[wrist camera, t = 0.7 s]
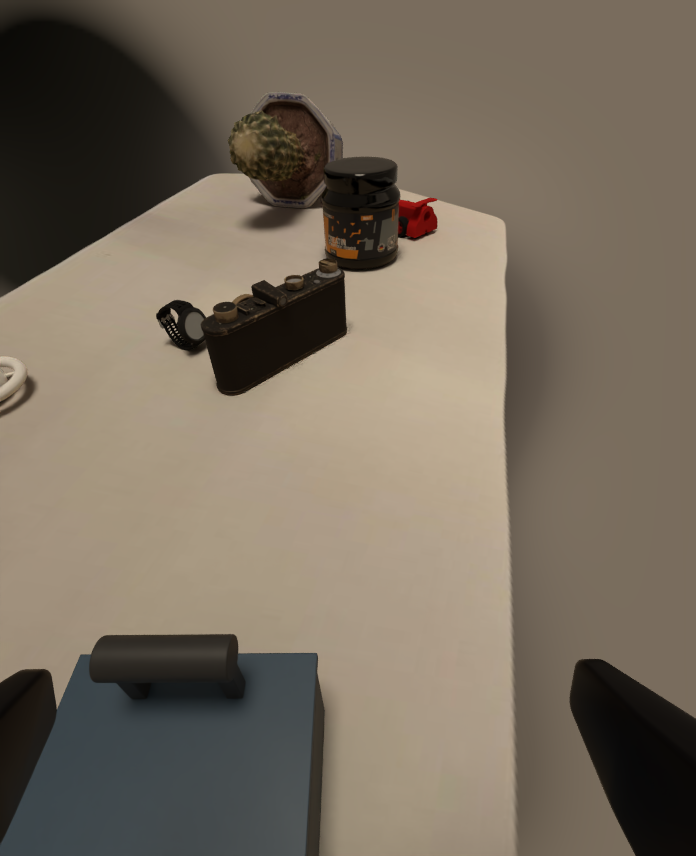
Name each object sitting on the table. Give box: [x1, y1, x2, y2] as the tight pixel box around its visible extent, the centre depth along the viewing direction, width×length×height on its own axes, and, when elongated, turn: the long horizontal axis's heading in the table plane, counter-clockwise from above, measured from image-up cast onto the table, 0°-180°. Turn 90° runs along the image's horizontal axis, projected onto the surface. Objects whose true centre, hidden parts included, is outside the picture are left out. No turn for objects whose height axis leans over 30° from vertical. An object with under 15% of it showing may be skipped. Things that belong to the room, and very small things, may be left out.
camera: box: [201, 259, 347, 395], centre depth 46 cm, size 16×7×8 cm, turn 136°
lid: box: [0, 634, 318, 856], centre depth 16 cm, size 9×11×4 cm
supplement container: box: [321, 157, 400, 270], centre depth 63 cm, size 10×10×12 cm
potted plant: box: [228, 92, 343, 208], centre depth 80 cm, size 18×18×30 cm
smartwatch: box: [156, 300, 206, 350], centre depth 49 cm, size 4×5×5 cm
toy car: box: [398, 198, 437, 238], centre depth 76 cm, size 6×18×5 cm, turn 44°
